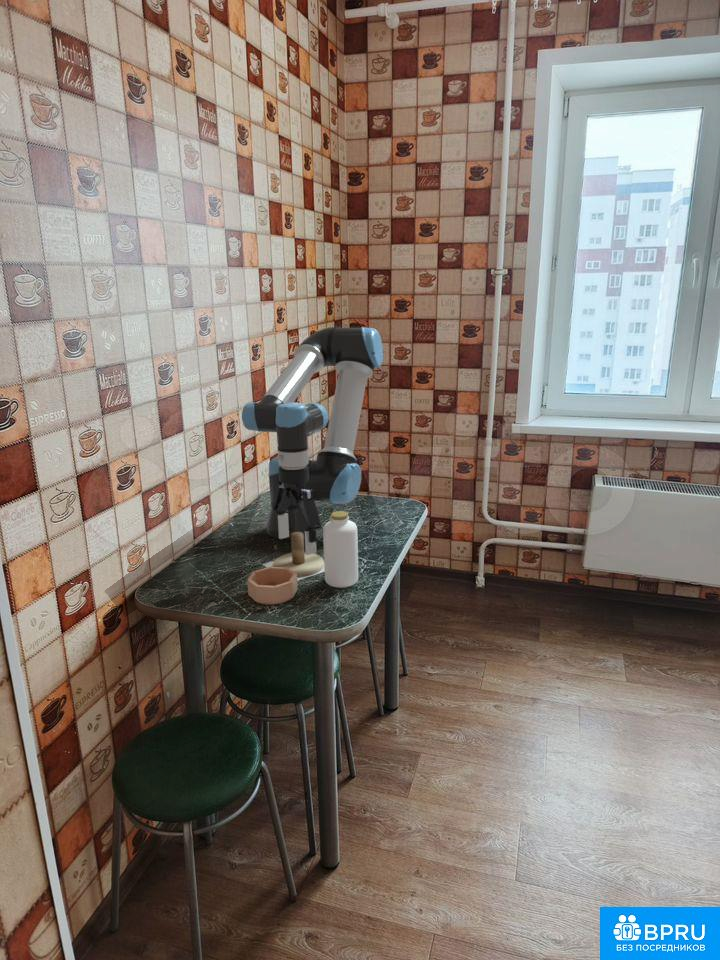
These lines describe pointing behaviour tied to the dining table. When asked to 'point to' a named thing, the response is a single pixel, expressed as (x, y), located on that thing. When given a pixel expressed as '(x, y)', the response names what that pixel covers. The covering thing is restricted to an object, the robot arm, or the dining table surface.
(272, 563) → the mat
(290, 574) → the bowl
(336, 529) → the white bottle
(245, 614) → the dining table surface
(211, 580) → the dining table surface
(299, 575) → the lid
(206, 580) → the dining table surface
